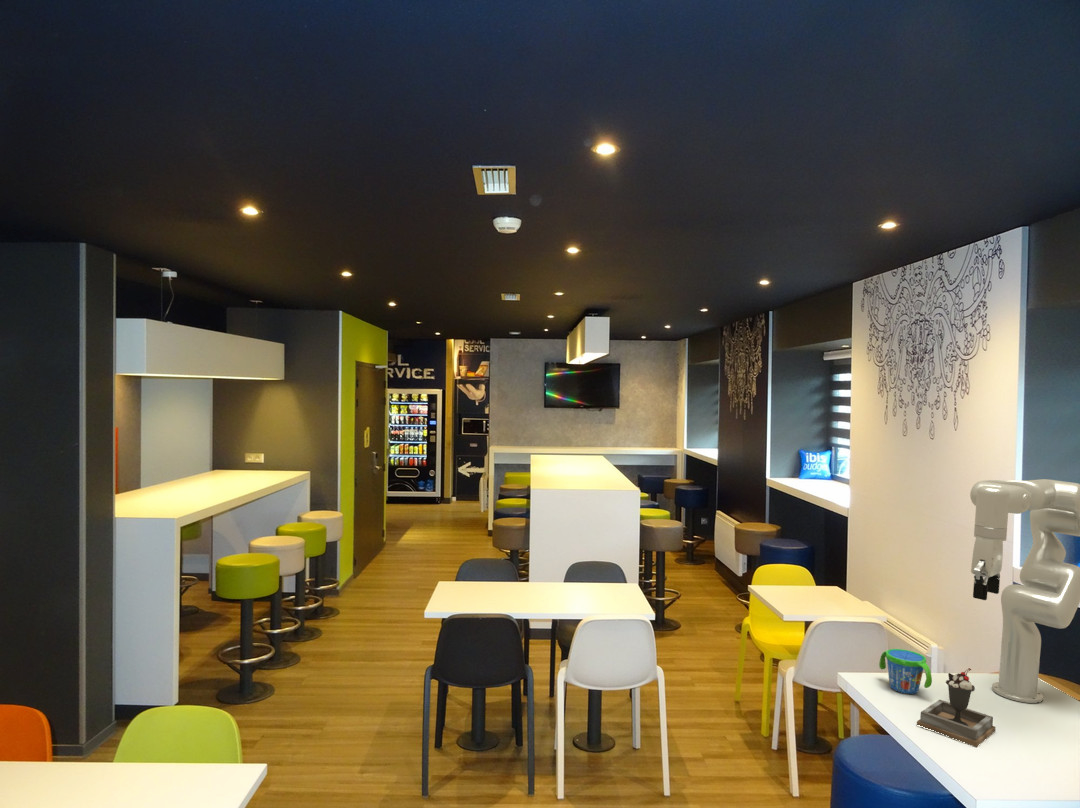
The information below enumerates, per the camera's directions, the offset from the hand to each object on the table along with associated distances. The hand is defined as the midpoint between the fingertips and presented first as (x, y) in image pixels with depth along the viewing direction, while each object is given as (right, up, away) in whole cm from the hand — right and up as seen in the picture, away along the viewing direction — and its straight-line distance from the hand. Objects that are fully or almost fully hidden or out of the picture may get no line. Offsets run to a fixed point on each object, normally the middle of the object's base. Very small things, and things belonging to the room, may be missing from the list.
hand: (985, 595), depth 205 cm
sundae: (-13, -31, -9) cm, 35 cm away
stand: (-13, -32, -10) cm, 36 cm away
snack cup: (-15, -31, +15) cm, 37 cm away
